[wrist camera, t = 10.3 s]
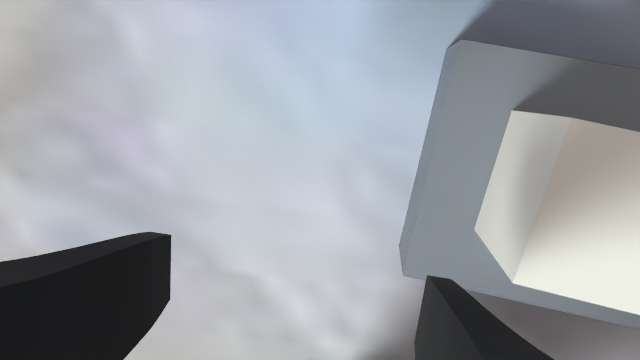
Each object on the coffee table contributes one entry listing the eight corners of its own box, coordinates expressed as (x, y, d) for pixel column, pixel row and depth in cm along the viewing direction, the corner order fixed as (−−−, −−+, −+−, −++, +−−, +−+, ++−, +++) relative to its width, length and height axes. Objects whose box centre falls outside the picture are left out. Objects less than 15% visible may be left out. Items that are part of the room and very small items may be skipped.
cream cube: (597, 258, 17) (688, 327, 12) (474, 229, 17) (512, 283, 12) (645, 138, 15) (769, 159, 11) (511, 110, 16) (570, 117, 11)
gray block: (593, 285, 21) (642, 330, 17) (398, 242, 22) (402, 275, 18) (666, 87, 18) (743, 86, 15) (445, 49, 19) (461, 39, 16)
